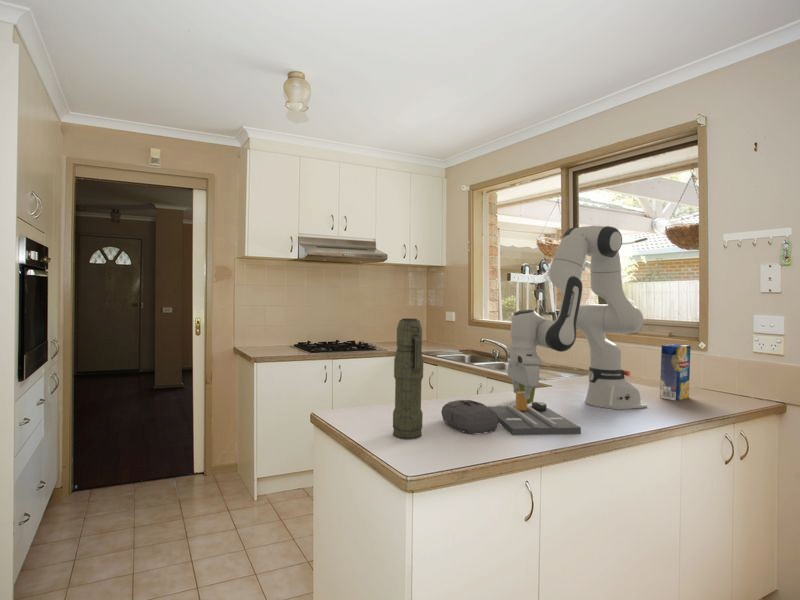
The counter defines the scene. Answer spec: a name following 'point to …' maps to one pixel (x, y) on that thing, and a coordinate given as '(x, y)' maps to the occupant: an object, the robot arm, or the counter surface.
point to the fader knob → (521, 401)
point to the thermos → (408, 380)
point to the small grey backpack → (470, 416)
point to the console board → (534, 420)
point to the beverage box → (675, 371)
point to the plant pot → (522, 388)
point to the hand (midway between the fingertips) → (521, 395)
